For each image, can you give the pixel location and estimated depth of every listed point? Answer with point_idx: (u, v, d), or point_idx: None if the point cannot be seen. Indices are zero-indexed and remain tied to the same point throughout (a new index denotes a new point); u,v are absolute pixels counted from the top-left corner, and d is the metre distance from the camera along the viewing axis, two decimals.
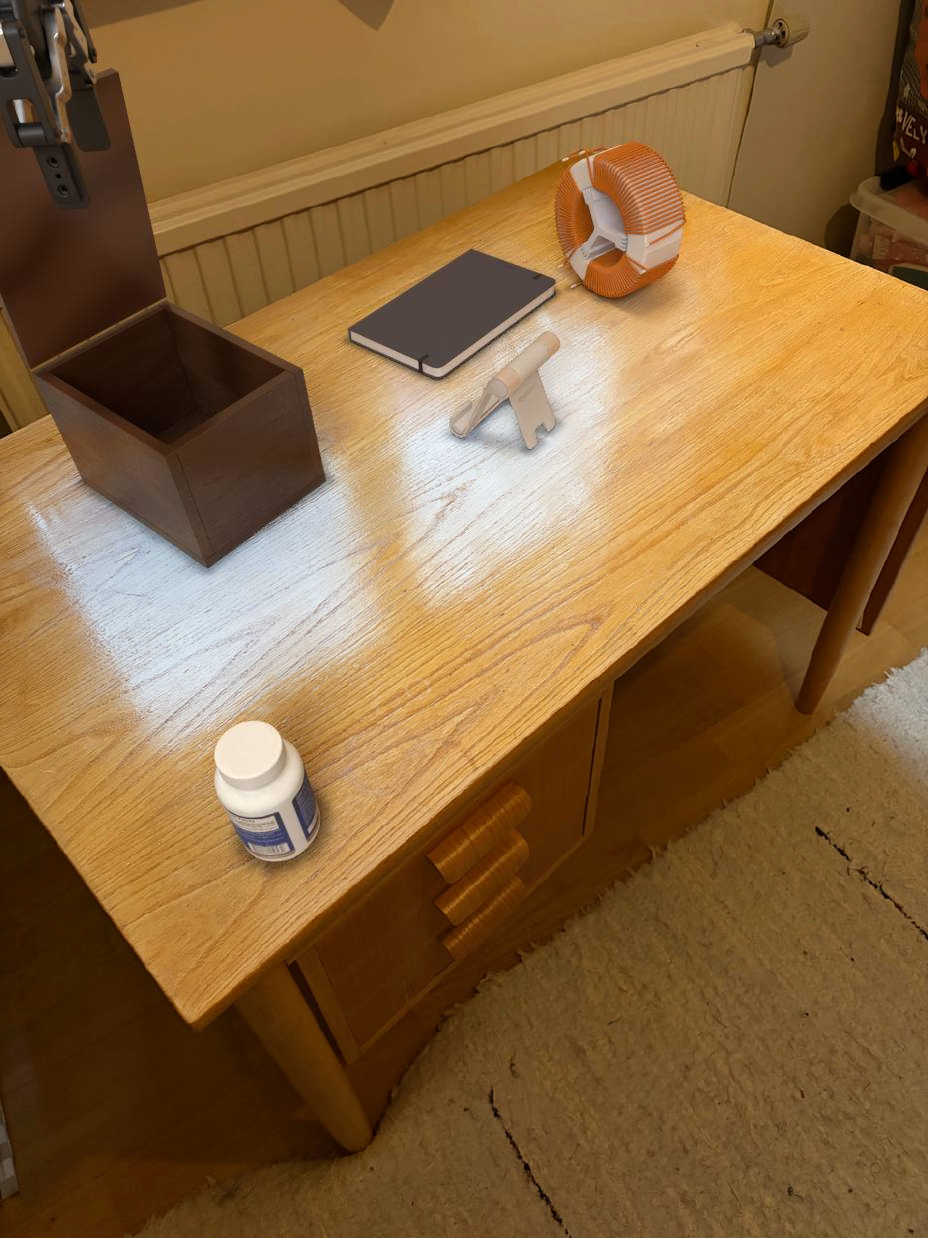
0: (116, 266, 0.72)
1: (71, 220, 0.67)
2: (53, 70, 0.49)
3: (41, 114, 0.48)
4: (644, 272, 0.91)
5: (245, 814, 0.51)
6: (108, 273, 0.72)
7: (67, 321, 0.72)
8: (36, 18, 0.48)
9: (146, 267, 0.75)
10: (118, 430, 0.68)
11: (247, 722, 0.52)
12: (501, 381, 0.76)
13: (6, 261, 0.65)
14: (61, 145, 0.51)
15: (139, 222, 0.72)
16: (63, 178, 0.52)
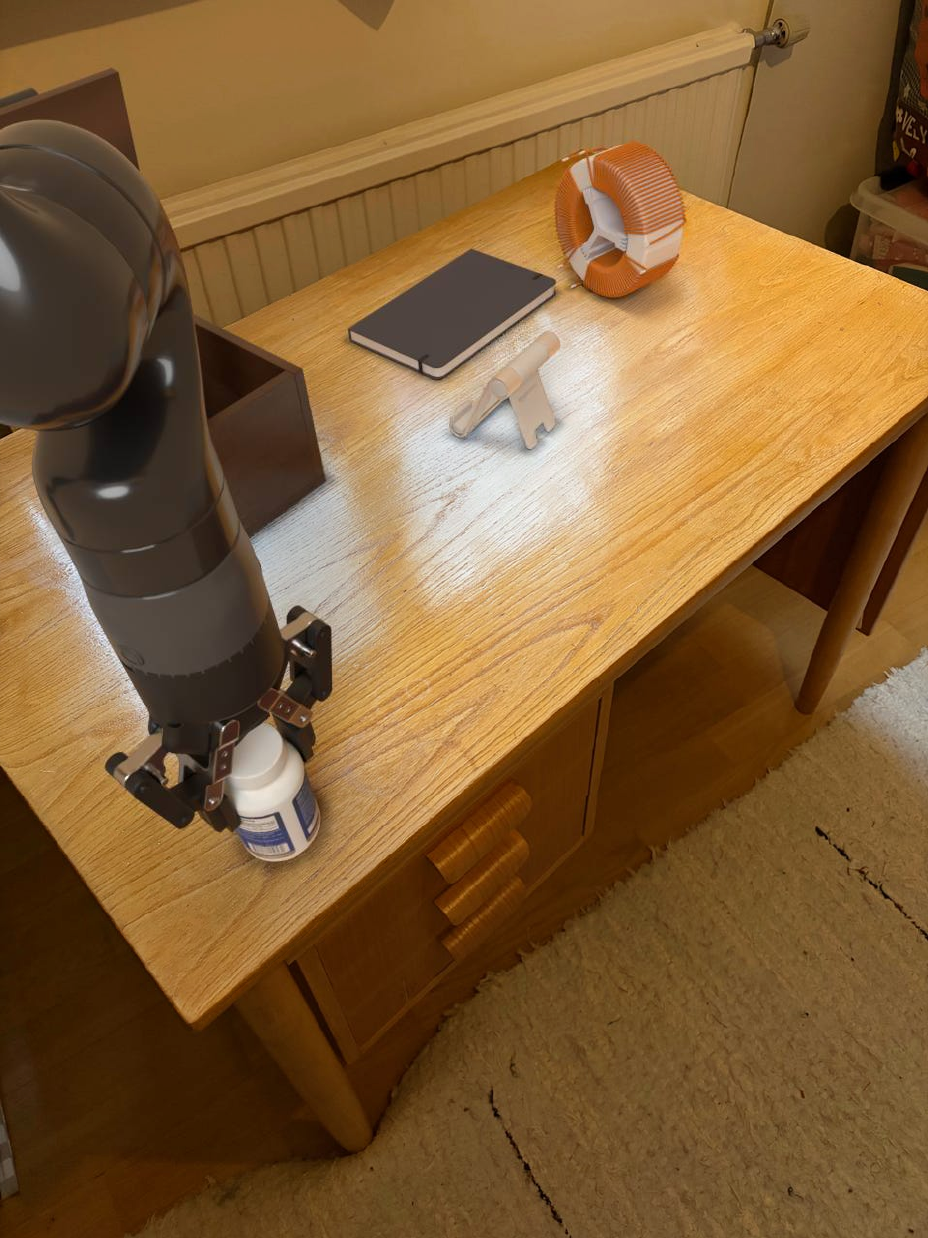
0: None
1: None
2: (209, 767, 0.46)
3: None
4: (644, 272, 0.91)
5: (246, 813, 0.51)
6: None
7: None
8: (196, 734, 0.44)
9: None
10: None
11: None
12: (501, 381, 0.76)
13: None
14: None
15: None
16: (206, 818, 0.50)
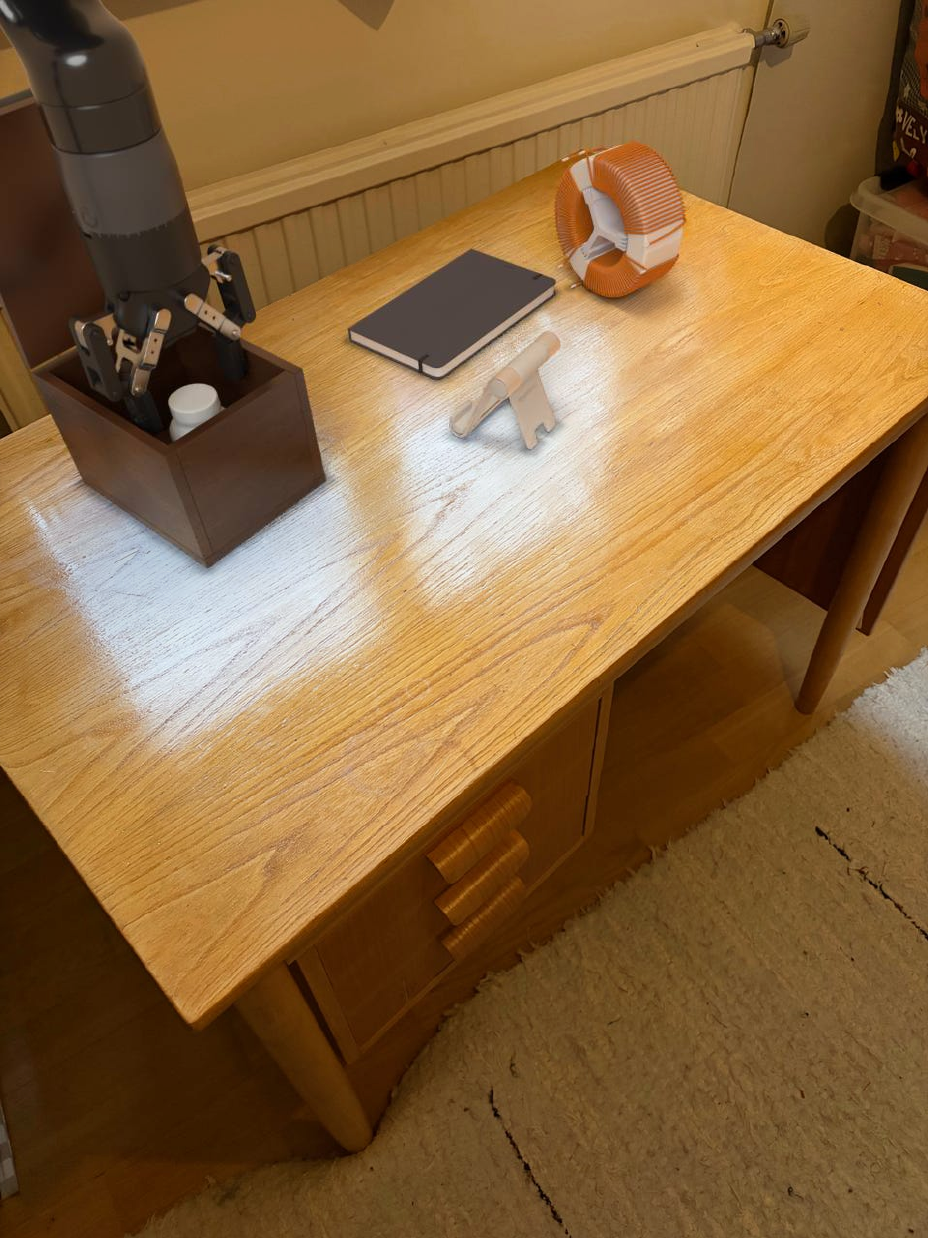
0: None
1: (71, 220, 0.67)
2: (142, 349, 0.64)
3: (102, 382, 0.63)
4: (644, 272, 0.91)
5: None
6: None
7: (67, 321, 0.72)
8: (139, 315, 0.63)
9: None
10: (118, 430, 0.68)
11: (193, 384, 0.73)
12: (501, 381, 0.76)
13: (6, 261, 0.65)
14: None
15: None
16: (134, 413, 0.68)
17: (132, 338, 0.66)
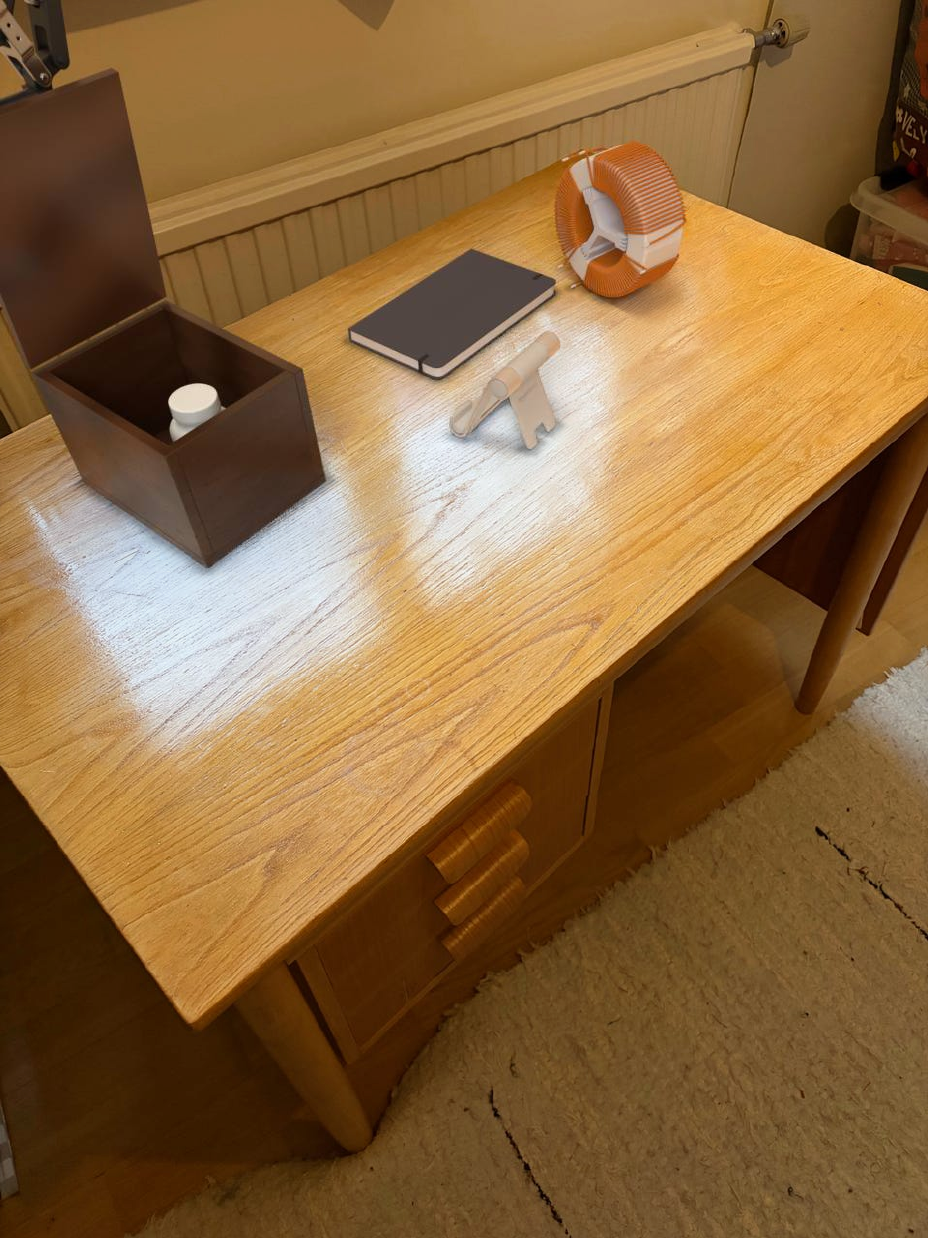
0: (116, 266, 0.72)
1: (71, 220, 0.67)
2: None
3: None
4: (644, 272, 0.91)
5: None
6: (108, 273, 0.72)
7: (67, 321, 0.72)
8: None
9: (146, 267, 0.75)
10: (118, 430, 0.68)
11: (193, 384, 0.73)
12: (501, 381, 0.76)
13: (6, 261, 0.65)
14: None
15: (139, 222, 0.72)
16: None
17: None
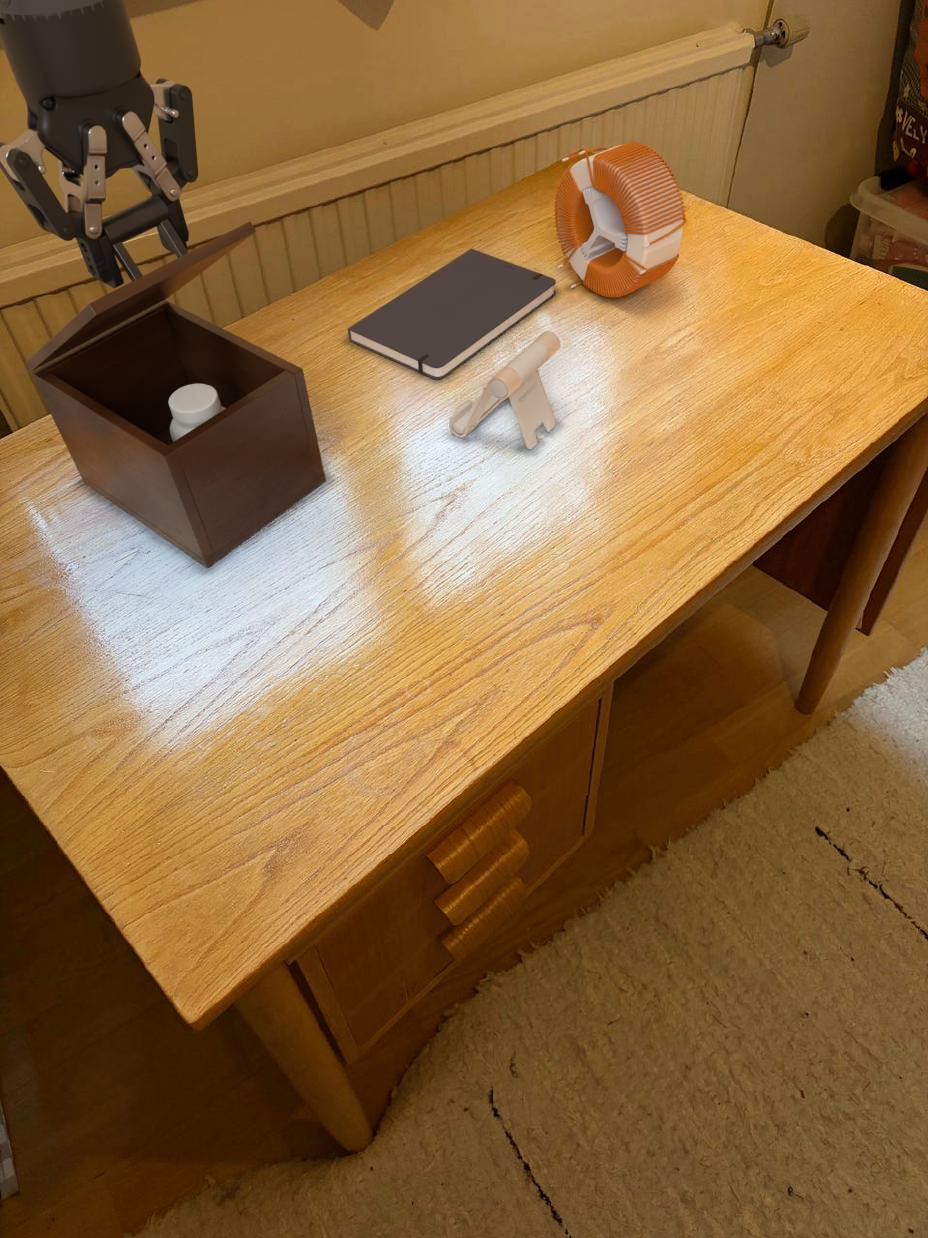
0: (148, 304, 0.73)
1: (142, 302, 0.68)
2: (84, 181, 0.56)
3: (48, 220, 0.56)
4: (644, 272, 0.91)
5: None
6: (138, 309, 0.73)
7: (83, 341, 0.72)
8: (67, 131, 0.54)
9: (168, 294, 0.75)
10: (118, 430, 0.68)
11: (193, 384, 0.73)
12: (501, 381, 0.76)
13: (74, 339, 0.65)
14: (90, 238, 0.59)
15: (188, 280, 0.72)
16: (90, 261, 0.60)
17: None
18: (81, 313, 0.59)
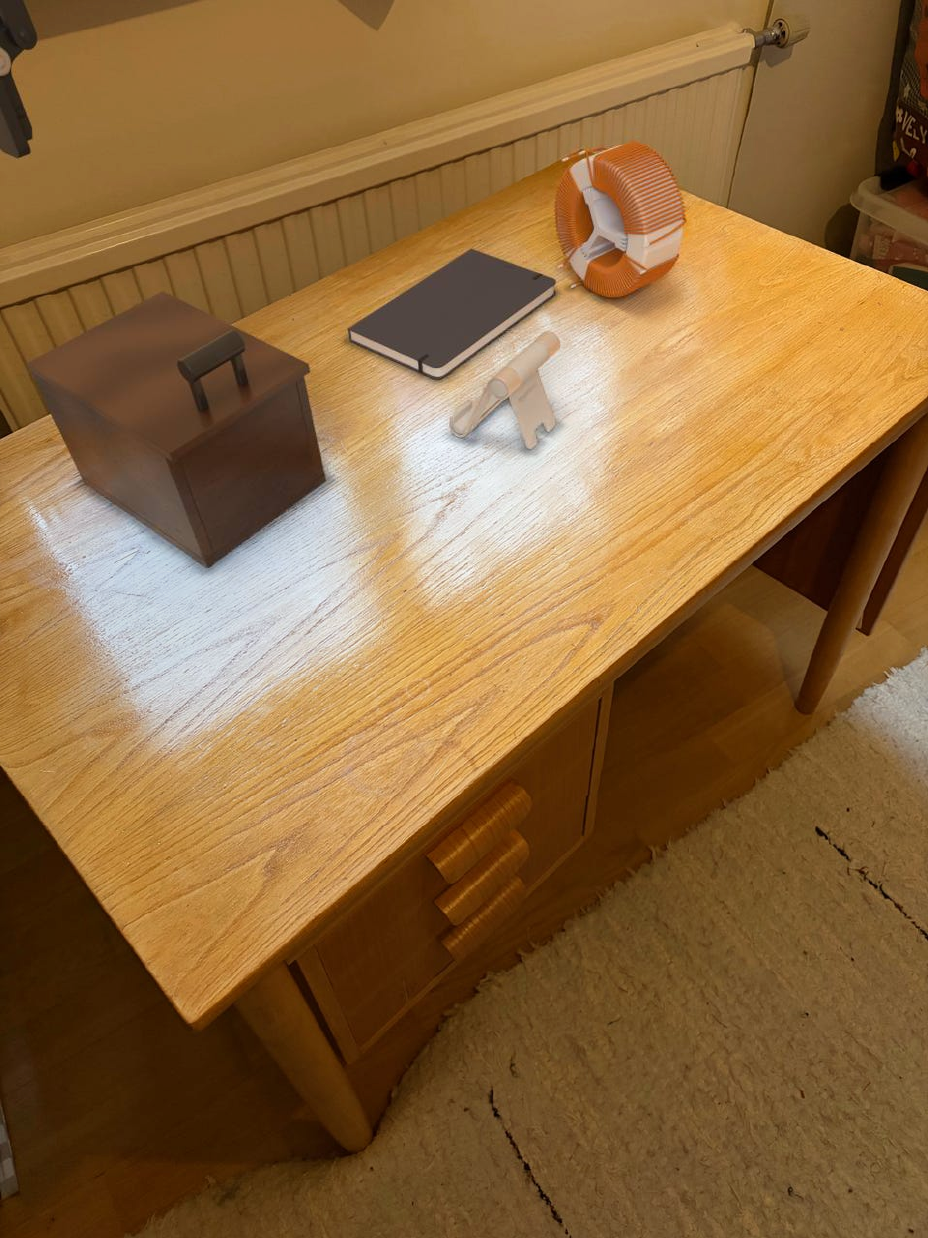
0: None
1: None
2: None
3: None
4: (644, 272, 0.91)
5: None
6: None
7: None
8: None
9: None
10: (118, 430, 0.68)
11: None
12: (501, 381, 0.76)
13: None
14: None
15: None
16: None
17: None
18: (153, 444, 0.65)
